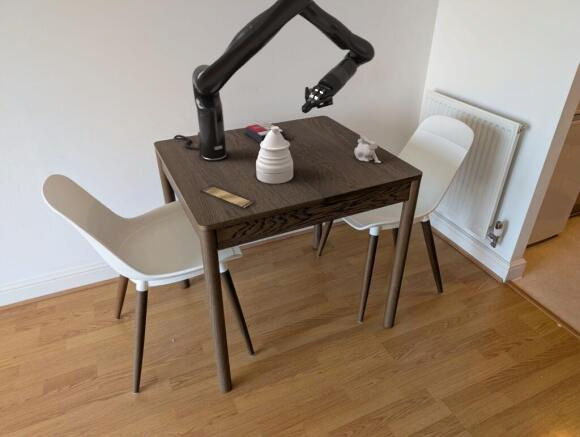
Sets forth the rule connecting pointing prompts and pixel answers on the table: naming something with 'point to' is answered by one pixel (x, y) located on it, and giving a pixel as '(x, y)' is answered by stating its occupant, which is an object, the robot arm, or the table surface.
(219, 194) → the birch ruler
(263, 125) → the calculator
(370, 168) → the table surface
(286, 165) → the honey pot
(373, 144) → the white lumpy figure
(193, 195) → the table surface
